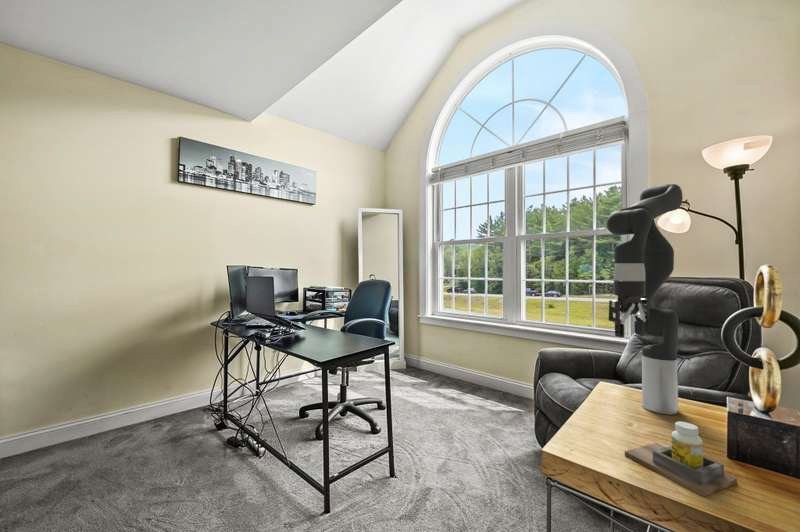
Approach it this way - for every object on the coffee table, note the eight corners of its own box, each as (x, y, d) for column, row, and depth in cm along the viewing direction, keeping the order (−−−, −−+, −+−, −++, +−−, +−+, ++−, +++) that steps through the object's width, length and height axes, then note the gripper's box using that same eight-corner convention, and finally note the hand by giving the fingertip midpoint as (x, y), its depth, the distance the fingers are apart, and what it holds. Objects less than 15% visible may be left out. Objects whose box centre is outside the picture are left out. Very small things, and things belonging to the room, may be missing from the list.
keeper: (656, 446, 86) (656, 432, 86) (736, 483, 71) (736, 466, 71) (624, 455, 82) (624, 441, 82) (704, 496, 67) (704, 479, 67)
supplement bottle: (710, 475, 72) (709, 431, 72) (684, 475, 72) (684, 430, 72) (689, 461, 77) (688, 420, 78) (665, 461, 77) (665, 419, 78)
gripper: (631, 278, 102) (632, 331, 101) (599, 279, 96) (600, 335, 96) (659, 279, 95) (659, 336, 95) (626, 280, 89) (626, 340, 89)
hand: (629, 335), depth 95 cm, fingers open, 8 cm apart
